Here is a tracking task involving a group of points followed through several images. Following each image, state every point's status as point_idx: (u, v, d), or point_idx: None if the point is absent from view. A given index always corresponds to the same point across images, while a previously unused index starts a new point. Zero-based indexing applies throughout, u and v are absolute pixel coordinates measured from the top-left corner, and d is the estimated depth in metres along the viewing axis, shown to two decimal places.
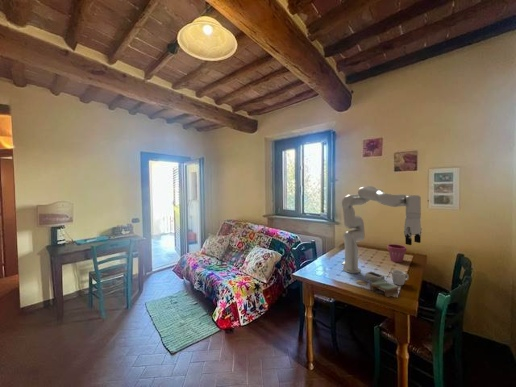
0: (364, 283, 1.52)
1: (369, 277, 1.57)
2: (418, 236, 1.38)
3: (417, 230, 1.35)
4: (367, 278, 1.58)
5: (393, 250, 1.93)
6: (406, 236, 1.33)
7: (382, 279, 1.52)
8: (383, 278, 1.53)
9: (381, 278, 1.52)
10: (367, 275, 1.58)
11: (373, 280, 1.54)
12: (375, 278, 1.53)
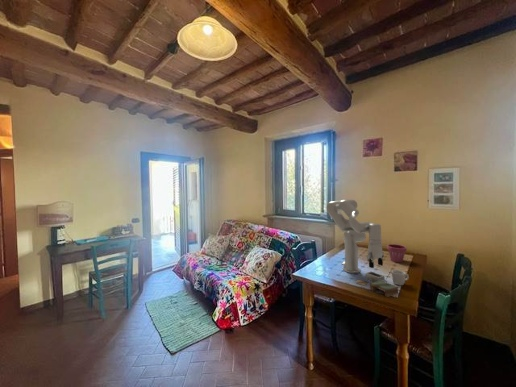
0: (364, 283, 1.52)
1: (369, 277, 1.57)
2: (380, 259, 1.57)
3: (379, 255, 1.53)
4: (367, 278, 1.58)
5: (393, 250, 1.93)
6: (369, 260, 1.52)
7: (382, 279, 1.52)
8: (383, 278, 1.53)
9: (381, 278, 1.52)
10: (367, 275, 1.58)
11: (373, 280, 1.54)
12: (375, 278, 1.53)
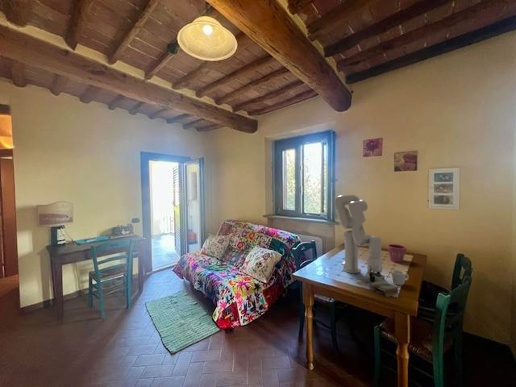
0: (364, 283, 1.52)
1: (369, 277, 1.57)
2: None
3: (378, 268, 1.54)
4: (367, 278, 1.58)
5: (393, 250, 1.93)
6: (369, 274, 1.54)
7: (382, 279, 1.52)
8: (383, 278, 1.53)
9: (381, 278, 1.52)
10: (367, 275, 1.58)
11: None
12: (375, 278, 1.53)
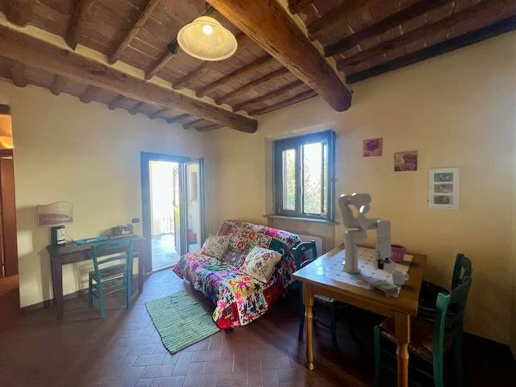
0: (364, 283, 1.52)
1: (377, 264, 1.41)
2: None
3: (387, 254, 1.39)
4: (375, 265, 1.43)
5: (393, 250, 1.93)
6: (378, 261, 1.39)
7: (392, 266, 1.37)
8: (393, 265, 1.38)
9: (391, 265, 1.36)
10: (375, 262, 1.43)
11: None
12: (384, 265, 1.38)
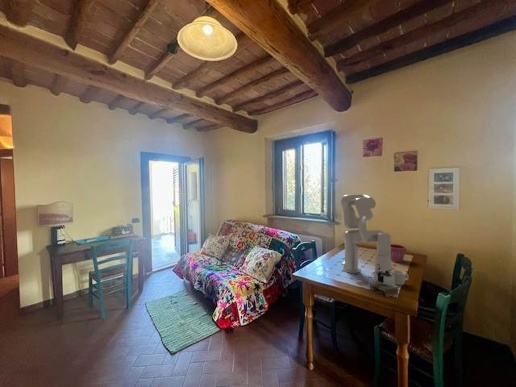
0: (364, 283, 1.52)
1: None
2: None
3: (387, 267, 1.39)
4: (375, 278, 1.43)
5: (393, 250, 1.93)
6: (378, 274, 1.39)
7: (392, 279, 1.37)
8: (393, 278, 1.38)
9: (391, 278, 1.37)
10: (375, 274, 1.43)
11: None
12: (384, 278, 1.38)
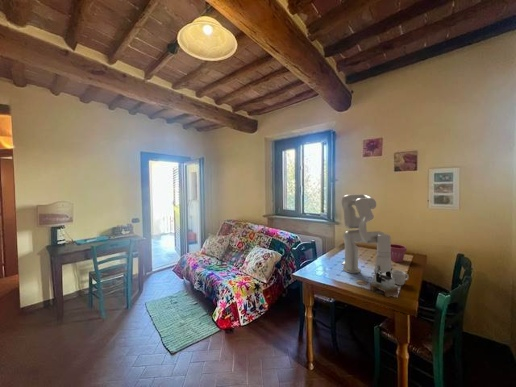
0: (364, 283, 1.52)
1: None
2: (389, 273, 1.43)
3: (387, 268, 1.39)
4: (375, 281, 1.43)
5: (393, 250, 1.93)
6: (376, 274, 1.38)
7: (392, 282, 1.37)
8: (393, 281, 1.38)
9: (391, 281, 1.37)
10: (375, 277, 1.43)
11: (381, 283, 1.39)
12: (384, 281, 1.38)
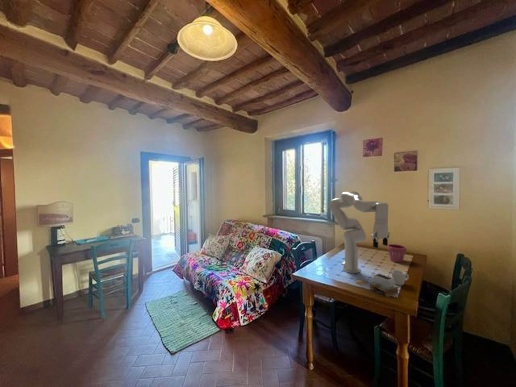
0: (364, 283, 1.52)
1: (377, 280, 1.42)
2: (385, 240, 1.52)
3: (384, 234, 1.48)
4: (375, 281, 1.43)
5: (393, 250, 1.93)
6: (373, 240, 1.47)
7: (392, 282, 1.37)
8: (393, 281, 1.38)
9: (391, 281, 1.37)
10: (375, 277, 1.43)
11: (381, 283, 1.39)
12: (384, 281, 1.38)
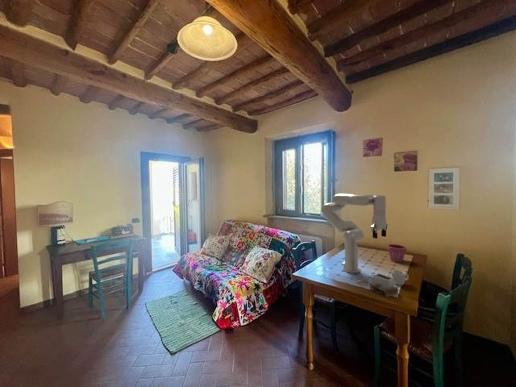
0: (364, 283, 1.52)
1: (377, 280, 1.42)
2: (384, 231, 1.59)
3: (382, 225, 1.56)
4: (375, 281, 1.43)
5: (393, 250, 1.93)
6: (373, 231, 1.54)
7: (392, 282, 1.37)
8: (393, 281, 1.38)
9: (391, 281, 1.37)
10: (375, 277, 1.43)
11: (381, 283, 1.39)
12: (384, 281, 1.38)
